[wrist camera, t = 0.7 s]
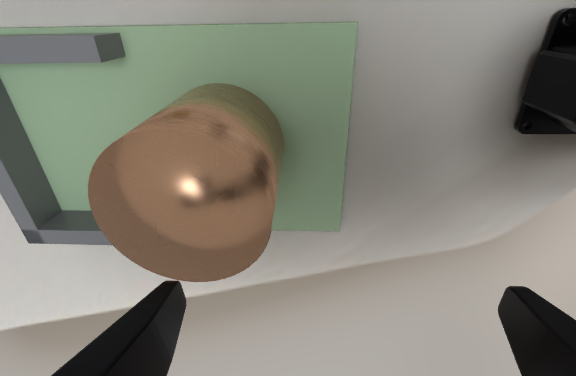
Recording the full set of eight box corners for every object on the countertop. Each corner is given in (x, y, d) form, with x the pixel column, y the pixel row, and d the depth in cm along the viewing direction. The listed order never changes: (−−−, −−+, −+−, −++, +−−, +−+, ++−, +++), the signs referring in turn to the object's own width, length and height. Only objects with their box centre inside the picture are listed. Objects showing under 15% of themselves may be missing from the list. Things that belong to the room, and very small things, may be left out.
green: (355, 21, 16) (357, 22, 16) (339, 226, 23) (339, 231, 23) (-33, 28, 18) (-43, 29, 17) (59, 221, 24) (54, 225, 24)
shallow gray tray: (119, 32, 17) (93, 35, 15) (169, 224, 23) (156, 246, 21) (-40, 35, 17) (-87, 38, 15) (52, 222, 24) (28, 243, 22)
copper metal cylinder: (282, 82, 18) (267, 129, 11) (285, 195, 21) (275, 284, 15) (153, 83, 18) (58, 128, 11) (178, 194, 22) (118, 279, 15)
